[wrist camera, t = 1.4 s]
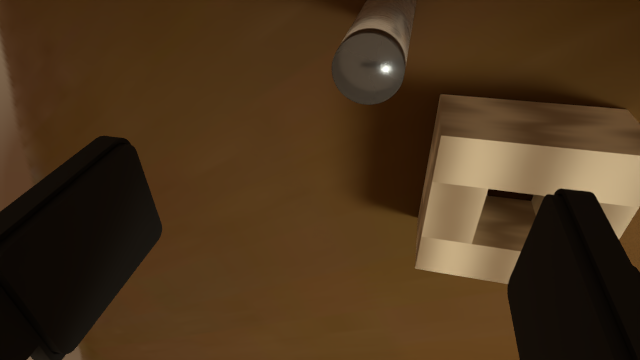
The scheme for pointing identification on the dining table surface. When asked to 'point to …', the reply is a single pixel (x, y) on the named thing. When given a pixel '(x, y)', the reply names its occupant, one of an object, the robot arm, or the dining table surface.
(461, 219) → the square wooden hole block
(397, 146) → the dining table surface
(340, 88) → the peg
